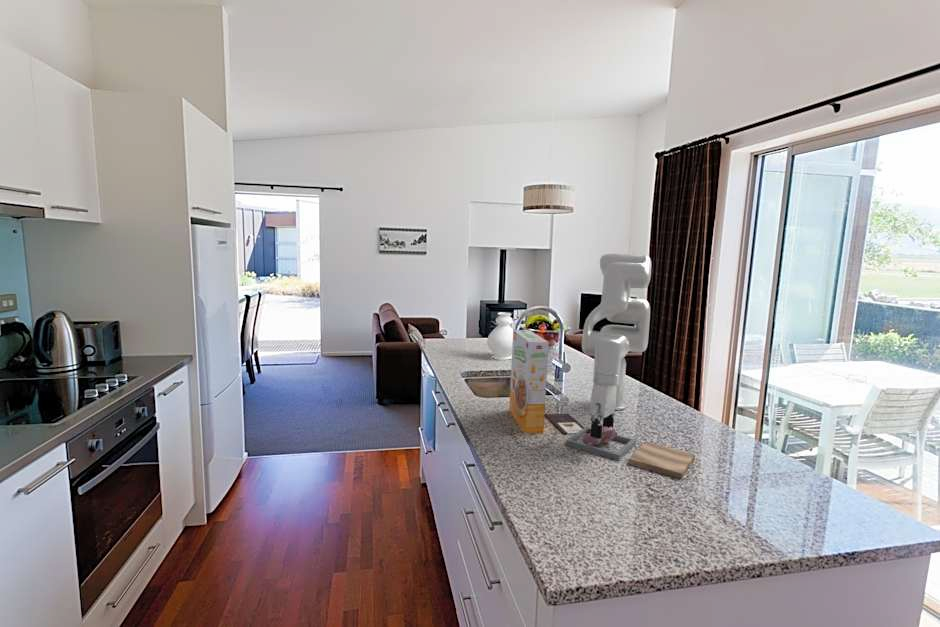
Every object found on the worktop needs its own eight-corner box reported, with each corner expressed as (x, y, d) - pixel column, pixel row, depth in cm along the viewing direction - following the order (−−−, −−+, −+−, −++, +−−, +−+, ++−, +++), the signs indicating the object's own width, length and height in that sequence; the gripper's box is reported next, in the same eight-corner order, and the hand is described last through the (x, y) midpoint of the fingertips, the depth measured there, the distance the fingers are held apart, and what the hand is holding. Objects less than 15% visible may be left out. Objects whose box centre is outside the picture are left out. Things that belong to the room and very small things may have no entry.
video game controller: (588, 451, 143) (597, 436, 140) (580, 439, 147) (589, 424, 143) (612, 447, 148) (622, 431, 144) (604, 435, 151) (613, 420, 148)
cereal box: (509, 410, 174) (513, 330, 170) (525, 410, 175) (529, 330, 171) (524, 433, 152) (529, 341, 148) (543, 433, 153) (548, 342, 149)
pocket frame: (585, 430, 157) (586, 426, 156) (635, 444, 147) (636, 439, 147) (565, 444, 144) (566, 440, 144) (618, 460, 135) (619, 455, 134)
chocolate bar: (568, 413, 172) (589, 432, 154) (568, 416, 172) (589, 434, 154) (544, 414, 170) (563, 432, 153) (544, 416, 170) (563, 435, 153)
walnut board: (645, 446, 146) (645, 441, 145) (694, 459, 137) (695, 454, 137) (628, 463, 133) (628, 458, 133) (681, 479, 125) (682, 473, 124)
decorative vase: (502, 353, 275) (504, 310, 271) (525, 359, 261) (527, 314, 258) (479, 356, 263) (481, 312, 260) (502, 363, 250) (504, 316, 246)
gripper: (604, 371, 152) (600, 422, 154) (582, 381, 138) (578, 437, 140) (627, 375, 148) (623, 428, 149) (607, 386, 134) (603, 444, 136)
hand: (601, 433), depth 145 cm, fingers open, 9 cm apart
